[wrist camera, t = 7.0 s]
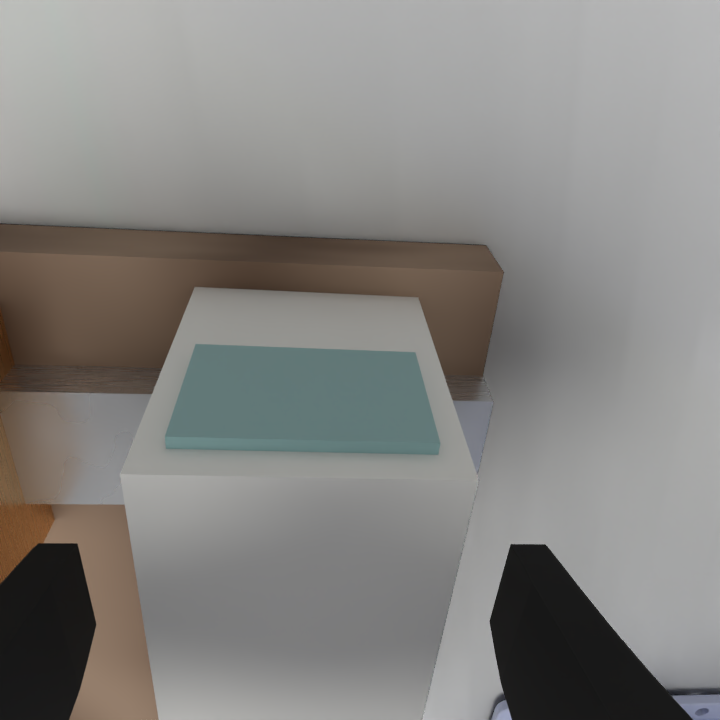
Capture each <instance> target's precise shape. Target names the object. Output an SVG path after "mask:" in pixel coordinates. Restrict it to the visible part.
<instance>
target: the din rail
mask: <svg viewBox="0 0 720 720" xmlns="http://www.w3.org/2000/svg"><path fill="white" fill-rule="evenodd" d="M161 370H162V368H145V367H105V366H65V365H25V364H15V363H14V359H13V355H12V351H11V347H10V344H9V340H8V336H7V332H6V328H5V324H4V320H3V316H2V312H1V309H0V584H1V582H2V581H3V580H4V579H5V578H6V577H7V576H8V575H9V574H10V573H11V571H12V570H13V569H14V568H15V567H16V566H17V565H18V564H19V563H20V562H21V560H22V559H23V558H24V557H25V556H26V555H27V554H28V553H29V552H30V551H31V550H32V548H34V547H35V546H36V545H37V544H38V543H44V541H45V539H46V537H47V535H48V533H49V531H50V528H51V526H52V524H53V522H54V520H55V518H54V514H53V511H52V507H51V504H112V505H125V503H124V497H123V491H122V484H121V478H120V473H121V470H122V468H123V465H124V463H125V460H126V458H127V455H128V453H129V450H130V448H131V445H132V443H133V440H134V438H135V435H136V433H137V430H138V428H139V425H140V423H141V420H142V418H143V415H144V413H145V410H146V408H147V405H148V403H149V400H150V398H151V395H152V393H153V390H154V388H155V385H156V383H157V380H158V378H159V375H160V373H161ZM444 377H445V380H446V383H447V386H448V389H449V392H450V395H451V398H452V401H453V404H454V407H455V410H456V413H457V416H458V419H459V422H460V425H461V428H462V431H463V434H464V437H465V440H466V443H467V446H468V449H469V452H470V455H471V458H472V461H473V464H474V467H475V470H476V473H477V475H478V471H479V466H480V462H481V457H482V452H483V448H484V443H485V439H486V434H487V430H488V425H489V421H490V416H491V412H492V407H493V402H494V401H493V399H492V397H491V394H490V392H489V390H488V387H487V385H486V383H485V380H484V378H483V376H466V375H444Z"/></svg>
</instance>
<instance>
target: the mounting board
mask: <svg viewBox="0 0 720 720" xmlns="http://www.w3.org/2000/svg"><path fill="white" fill-rule="evenodd" d="M503 273H504V272H503V270H502V269H501V267H500V266H499V264H498V263H497V261H496V260H495V258H494V257H493V255H492V254H491V252H490V251H489V249H488V248H487V246H486V245H463V244H441V243H418V242H396V241H373V240H351V239H328V238H305V237H283V236H260V235H238V234H215V233H193V232H170V231H147V230H125V229H102V228H80V227H57V226H35V225H12V224H0V309H1V312H2V316H3V320H4V324H5V328H6V332H7V336H8V340H9V344H10V347H11V351H12V355H13V359H14V363H15V364H25V365H65V366H105V367H145V368H163V365H164V363H165V360H166V358H167V355H168V353H169V350H170V348H171V345H172V343H173V340H174V338H175V335H176V333H177V330H178V328H179V325H180V323H181V320H182V318H183V315H184V313H185V310H186V308H187V305H188V303H189V300H190V298H191V295H192V293H193V290H194V288H195V287H207V288H229V289H250V290H272V291H293V292H315V293H336V294H358V295H379V296H401V297H418V298H419V301H420V304H421V307H422V310H423V313H424V316H425V319H426V322H427V325H428V328H429V331H430V334H431V337H432V340H433V343H434V346H435V349H436V352H437V355H438V358H439V361H440V365H441V368H442V371H443V374H444V375H466V376H483V371H484V367H485V362H486V357H487V352H488V347H489V342H490V337H491V332H492V327H493V322H494V317H495V313H496V308H497V303H498V298H499V293H500V288H501V283H502V278H503ZM51 507H52V511H53V514H54V518H55V520H54V522H53V524H52V526H51V528H50V531H49V533H48V535H47V537H46V539H45V541H44V543H78V548H79V552H80V556H81V560H82V565H83V569H84V573H85V578H86V582H87V586H88V590H89V595H90V599H91V603H92V607H93V612H94V616H95V620H96V629H95V633H94V637H93V641H92V645H91V649H90V653H89V657H88V661H87V665H86V669H85V673H84V677H83V680H82V684H81V688H80V691H79V694H78V697H77V699H76V702H75V705H74V708H73V710H72V713H71V716H70V718H69V720H159V719H158V712H157V706H156V700H155V693H154V687H153V681H152V674H151V668H150V662H149V655H148V649H147V643H146V636H145V630H144V624H143V617H142V611H141V605H140V598H139V592H138V586H137V579H136V573H135V567H134V560H133V554H132V548H131V541H130V535H129V529H128V522H127V516H126V510H125V505H112V504H51Z"/></svg>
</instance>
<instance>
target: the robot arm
mask: <svg viewBox="0 0 720 720" xmlns="http://www.w3.org/2000/svg"><path fill="white" fill-rule="evenodd" d="M490 626H491V631H492V637H493V643H494V649H495V654H496V660H497V665H498V670H499V675H500V680H501V684H502V688H503V691H504V695H505V698H506V700H504V701H501V702H500V703H498V704H497V706H496V707H495V710H494V713H493V716H492V719H491V720H720V694H718V695H675V696H671V695H670V694H669V693H668V692H667V691H666V690H665V688H664V687H663V686H662V685H661V684H660V683H659V682H658V681H657V679H656V678H655V677H654V676H653V675H652V674H651V673H650V672H649V670H648V669H647V668H646V667H645V666H644V665H643V663H642V662H641V661H640V660H639V659H638V658H637V656H636V655H635V654H634V653H633V652H632V651H631V649H630V648H629V647H628V646H627V645H626V644H625V642H624V641H623V640H622V639H621V638H620V637H619V635H618V634H617V633H616V632H615V631H614V629H613V628H612V627H611V626H610V625H609V623H608V622H607V621H606V620H605V618H604V617H603V616H602V615H601V614H600V612H599V611H598V610H597V609H596V607H595V606H594V605H593V604H592V602H591V601H590V600H589V599H588V597H587V596H586V595H585V594H584V592H583V591H582V590H581V589H580V587H579V586H578V585H577V584H576V582H575V581H574V580H573V578H572V577H571V576H570V575H569V573H568V572H567V571H566V570H565V568H564V567H563V566H562V564H561V563H560V562H559V561H558V559H557V558H556V557H555V556H554V554H553V553H552V552H551V550H550V549H549V548H548V547H547V546H546V545H535V544H511V545H510V549H509V553H508V556H507V560H506V564H505V567H504V571H503V575H502V578H501V582H500V585H499V589H498V593H497V596H496V600H495V604H494V607H493V611H492V615H491V618H490ZM95 629H96V620H95V616H94V612H93V607H92V603H91V599H90V595H89V590H88V586H87V582H86V578H85V573H84V569H83V565H82V560H81V556H80V552H79V548H78V543H38V544H37V545H36V546H35V547H34V548H32V550H31V551H30V552H29V553H28V554H27V555H26V556H25V557H24V558H23V559H22V560H21V562H20V563H19V564H18V565H17V566H16V567H15V568H14V569H13V570H12V571H11V573H10V574H9V575H8V576H7V577H6V578H5V579H4V580H3V581H2V582H1V584H0V720H69V718H70V716H71V713H72V710H73V708H74V705H75V702H76V699H77V697H78V694H79V691H80V688H81V684H82V680H83V677H84V673H85V669H86V665H87V661H88V657H89V653H90V649H91V645H92V641H93V637H94V633H95Z"/></svg>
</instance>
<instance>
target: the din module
mask: <svg viewBox="0 0 720 720" xmlns="http://www.w3.org/2000/svg"><path fill="white" fill-rule="evenodd" d="M120 478H121V484H122V491H123V497H124V503H125V510H126V516H127V522H128V529H129V535H130V541H131V548H132V554H133V560H134V567H135V573H136V579H137V586H138V592H139V598H140V605H141V611H142V617H143V624H144V630H145V636H146V643H147V649H148V655H149V662H150V668H151V674H152V681H153V687H154V693H155V700H156V706H157V712H158V719H159V720H422V719H423V715H424V710H425V706H426V702H427V698H428V694H429V689H430V685H431V681H432V677H433V673H434V668H435V664H436V660H437V656H438V651H439V647H440V643H441V639H442V635H443V630H444V626H445V622H446V618H447V614H448V609H449V605H450V601H451V597H452V593H453V588H454V584H455V580H456V576H457V572H458V567H459V563H460V559H461V555H462V551H463V546H464V542H465V538H466V534H467V530H468V525H469V521H470V517H471V513H472V509H473V504H474V500H475V496H476V492H477V487H478V483H479V479H478V476H477V473H476V470H475V467H474V464H473V461H472V458H471V455H470V452H469V449H468V446H467V443H466V440H465V437H464V434H463V431H462V428H461V425H460V422H459V419H458V416H457V413H456V410H455V407H454V404H453V401H452V398H451V395H450V392H449V389H448V386H447V383H446V380H445V377H444V374H443V371H442V368H441V365H440V361H439V358H438V355H437V352H436V349H435V346H434V343H433V340H432V337H431V334H430V331H429V328H428V325H427V322H426V319H425V316H424V313H423V310H422V307H421V304H420V301H419V298H418V297H401V296H379V295H358V294H336V293H315V292H293V291H272V290H250V289H229V288H207V287H195V288H194V290H193V293H192V295H191V298H190V300H189V303H188V305H187V308H186V310H185V313H184V315H183V318H182V320H181V323H180V325H179V328H178V330H177V333H176V335H175V338H174V340H173V343H172V345H171V348H170V350H169V353H168V355H167V358H166V360H165V363H164V365H163V368H162V370H161V373H160V375H159V378H158V380H157V383H156V385H155V388H154V390H153V393H152V395H151V398H150V400H149V403H148V405H147V408H146V410H145V413H144V415H143V418H142V420H141V423H140V425H139V428H138V430H137V433H136V435H135V438H134V440H133V443H132V445H131V448H130V450H129V453H128V455H127V458H126V460H125V463H124V465H123V468H122V470H121V473H120Z"/></svg>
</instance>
